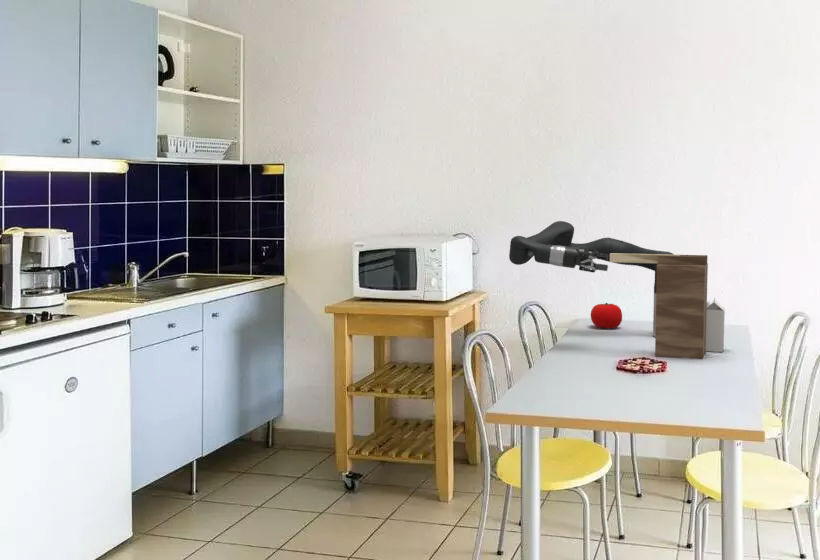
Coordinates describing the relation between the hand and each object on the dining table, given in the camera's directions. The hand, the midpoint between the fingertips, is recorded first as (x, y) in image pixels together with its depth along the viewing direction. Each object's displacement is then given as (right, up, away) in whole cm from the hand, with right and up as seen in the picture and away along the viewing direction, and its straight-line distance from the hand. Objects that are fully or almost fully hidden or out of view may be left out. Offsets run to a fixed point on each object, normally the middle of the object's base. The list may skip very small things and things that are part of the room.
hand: (607, 262), depth 360 cm
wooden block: (+11, 0, -9) cm, 15 cm away
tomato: (+10, -26, +53) cm, 60 cm away
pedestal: (+23, -33, -11) cm, 42 cm away
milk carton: (+37, -32, -2) cm, 49 cm away
